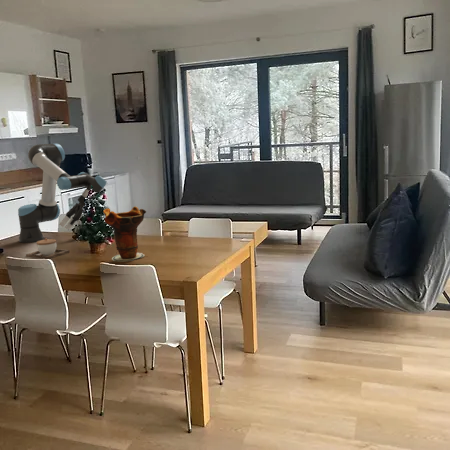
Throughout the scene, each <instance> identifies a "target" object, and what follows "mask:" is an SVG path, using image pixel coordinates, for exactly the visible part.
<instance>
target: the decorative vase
mask: <svg viewBox="0 0 450 450" xmlns="http://www.w3.org/2000/svg"><path fill="white" fill-rule="evenodd" d="M146 213H147V211H146V210H145V209H143V208H140V209H139V207H138V206H133V207H132V208H131V210H129V211H123V212H122V211H121V212H115V211H112V210H111V209H110V208H104V210H103V214H104V216H105V217H104V224H107V225H108V226H109V227H111V228H112V229H113V235H114V241H115V245H116V255H114V256H113V257H112V258H111V260H112V261H113V262H131V261H135V260H137V259H141V258H143V257H145V253H144V254H143V252H138V250H139V244H138V237H137V236H138V234H137V233H138V228H139V226H140V224H141V223H142V222H143V221H144V218H145V214H146ZM117 252H118V254H117Z"/></svg>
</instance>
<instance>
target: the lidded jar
mask: <svg viewBox="0 0 450 450" xmlns="http://www.w3.org/2000/svg"><path fill="white" fill-rule="evenodd" d="M36 247H37V251H39V252H40V255H44V256H49V255H52V254H55V252H56V251H55V250H56V249H57V240H56V239H54V238H47V237H45V238H44V239H42V240H40V241H36Z"/></svg>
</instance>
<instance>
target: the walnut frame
mask: <svg viewBox="0 0 450 450" xmlns="http://www.w3.org/2000/svg"><path fill="white" fill-rule="evenodd" d="M55 252H57V253H54V254H52V255H42V254H41V253H40V252H39V250H37V251H33V252H30V253H26V254H25V257H28V258H35V259H43V258H45V259H44V260H49V259H52V258H56V257H59V256H62V255H65V254H69V253H70V250H69V249H60V248H56V250H55Z"/></svg>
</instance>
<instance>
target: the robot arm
mask: <svg viewBox="0 0 450 450" xmlns="http://www.w3.org/2000/svg"><path fill="white" fill-rule="evenodd" d="M27 157H28V160H29V161H30V163H31V164H32V165H33V166H34V167H38V168H40V170H42V172H43V173H42V186H41V187H42V188H41V198H40V199H39V200H38V205H37V204H35V203H30V204H26V205H25V204H24V205H22V206H20V207H18V210H17V213H18V214H17V216H18V220H19V229H20V231H19V236H18V241H19V243H32V242H33V243H34V242H35V243H36V242H38V241H40V240H44V234H43V232H42V230H41V228H40V224H42V223H44V222H51V221H54V220H57V219H58V218H59V216H60V214H61V208H60V205H59V203H58V202H57V201H56V190H57V187H58V190H62V191H64V190H65V191H68V190H72V189H74V190H75V189H79V188H80V189H81V188H86V189H84V191H83V192H82V193H81V195H80V196H79V197H78V198H77V201H78V202H76V203H75V204H74V205H73V206H72V207H71V208H70V209H69V210H68V211H67V212H66V213H65V216H64V217H63V218H62V220H61V221H60V222H59V223H58V224H59V226H60V227H62V228H63V227H64V229H66V230H67V231H69V230H70V229H72V228H73V226H74V225H75V223H77V221H78V220H79V218H80V217H81V214H82V211H83V207H84V206H85V203H84V199H85V198H86V197H87V195H88V192H89V190H90V188H91V185H92V186H93V189H94V191H95V192H100V193H101V191H102V190H103V189H105V187H106V185H107V180H106V179H105V178H103V177H102V176H101V175H96V176H95V177H94V176H92V175H90V174H89V173H87V172H84V171H82V172H80V173H78V174H77V175H70V174H68V173H67V172H66V171H65V170H63V169H62V168H60V166H61V162H63V161H65V158H66V153H65V150H64V148H63V147H62V145H61V144H59V143H54V142H53V143H42V144H39V143H38V144H35V145H32V147H30V148H29V150H28V154H27Z"/></svg>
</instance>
